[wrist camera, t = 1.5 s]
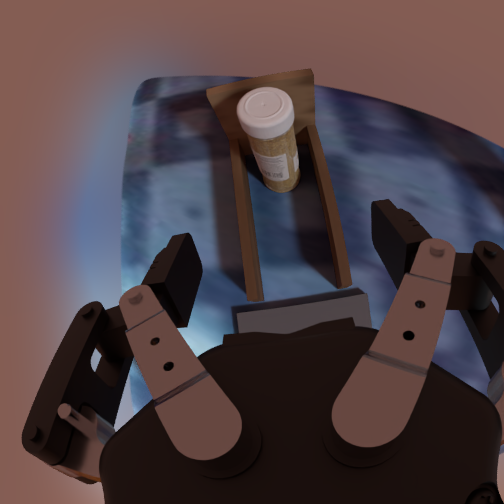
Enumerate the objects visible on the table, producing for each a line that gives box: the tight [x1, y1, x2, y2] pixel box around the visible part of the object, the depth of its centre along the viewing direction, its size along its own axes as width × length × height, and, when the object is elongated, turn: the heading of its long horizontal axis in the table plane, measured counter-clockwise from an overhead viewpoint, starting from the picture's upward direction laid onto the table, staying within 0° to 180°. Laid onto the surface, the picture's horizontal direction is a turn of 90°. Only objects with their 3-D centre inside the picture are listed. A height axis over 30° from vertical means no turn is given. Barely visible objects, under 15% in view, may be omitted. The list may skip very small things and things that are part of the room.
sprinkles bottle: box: [237, 87, 301, 193], centre depth 27 cm, size 5×5×14 cm
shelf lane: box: [207, 69, 352, 302], centre depth 26 cm, size 10×19×12 cm, turn 8°
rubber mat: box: [237, 293, 372, 334], centre depth 28 cm, size 14×12×1 cm
